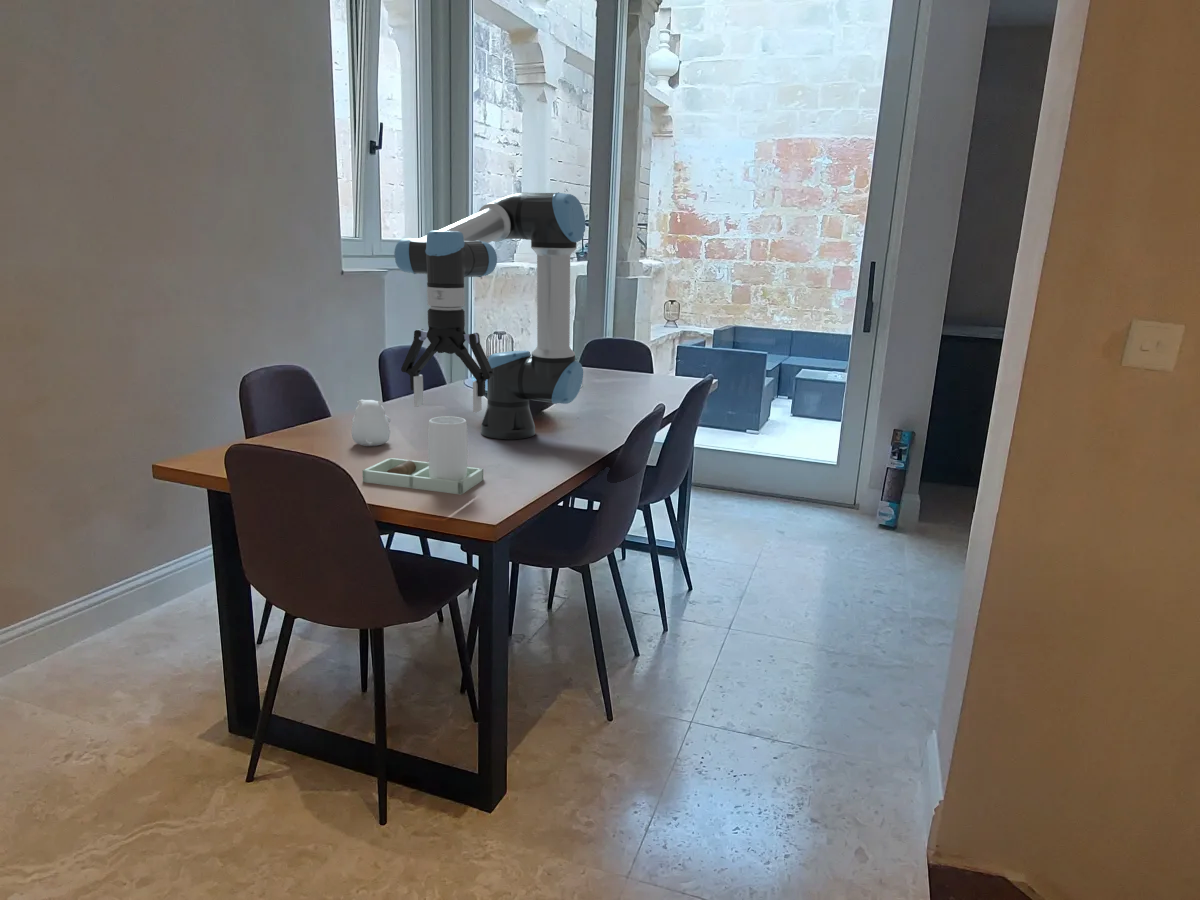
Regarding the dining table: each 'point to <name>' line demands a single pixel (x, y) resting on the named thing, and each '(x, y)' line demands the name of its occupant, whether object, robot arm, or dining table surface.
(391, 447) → the dining table surface
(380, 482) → the caddy
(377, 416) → the figurine
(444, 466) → the cup
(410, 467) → the dowel
